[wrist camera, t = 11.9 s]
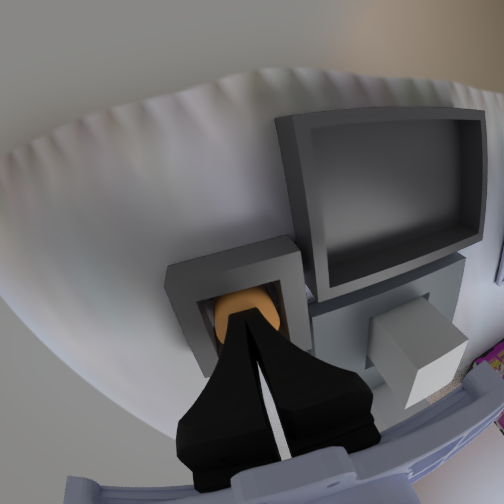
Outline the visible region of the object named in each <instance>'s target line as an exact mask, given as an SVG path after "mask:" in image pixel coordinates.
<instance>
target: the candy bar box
mask: <svg viewBox="0 0 504 504" xmlns="http://www.w3.org/2000/svg"><path fill="white" fill-rule="evenodd" d="M484 360H486V361H487V362H488V363H489V364H490V365H491V366H492V368H493V369H494V370H495V371H496V372H497V373H498V374H499V375H500V376H501V377H502V378H503V379H504V339H503V340H502V341H501V342H500V343H498V344H497V345H496V346H494V347H493V348H492V349H490V350H489V351H488V352H486V353H485V354H484V355H482V356H481V357H480V358H478V359H477V360H475V361H474V363H473V365H472V367H471V368H470V370H472V369H473V368H474V367H476V366H477V365H478V364H480V363H481V362H482V361H484ZM470 370H469V371H470ZM494 423H495V424H496V425H497V427H498V428H499V429H500V431H501V432H502V433H503V435H504V409H503V411H502V412H501V413H500V415H499V416H498V417H497V419H496V420H495V421H494Z"/></svg>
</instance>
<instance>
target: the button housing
mask: <svg viewBox="0 0 504 504" xmlns="http://www.w3.org/2000/svg"><path fill="white" fill-rule="evenodd" d="M272 281H274V286H275V291H276V297H277V302H278V307H279V312H280V319H279V320H280V325H279V329H278V331H279V332H280V333H281V334H282V335H283V336H284V337H286V338H287V339H288V340H289V341H291V342H292V343H293V344H295V345H296V346H297V347H299V348H300V349H302V350H303V351H307V350H310V349H312V343H311V333H310V323H309V314H308V305H307V297H306V289H305V281H304V273H303V265H302V258H301V251H300V249H299V248H298V247H297V246H296V245H295V244H294V242H293V241H292V240H291V239H290V238H289V236H288V235H284V236H280V237H276V238H272V239H269V240H265V241H261V242H257V243H253V244H249V245H246V246H242V247H238V248H234V249H230V250H227V251H223V252H219V253H215V254H211V255H208V256H204V257H200V258H196V259H193V260H189V261H185V262H181V263H178V264H174V265H170V266H168V268H167V273H166V279H165V285H164V288H165V290H166V293H167V295H168V298H169V300H170V302H171V305H172V307H173V310H174V312H175V314H176V317H177V319H178V321H179V323H180V326H181V328H182V330H183V332H184V335H185V337H186V339H187V341H188V343H189V346H190V348H191V350H192V352H193V354H194V356H195V358H196V360H197V363H198V365H199V367H200V369H201V371H202V373H203V375H204V377H205V378H207V377H211V375H212V373H213V371H214V369H215V366H216V364H217V362H218V359H219V356H220V353H221V350H222V347H223V344H222V343H221V342H220V340H219V339H218V337H217V336H216V335H215V332H214V330H213V327H212V324H211V322H210V319H209V316H208V313H207V311H206V308H205V305H204V302H203V300H205V299H209V298H212V297H216V296H220V295H224V294H228V293H232V292H235V291H239V290H243V289H247V288H250V287H254V286H258V285H261V284H265V283H268V282H272ZM257 364H258V362H257ZM258 365H259V364H258Z"/></svg>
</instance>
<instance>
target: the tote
mask: <svg viewBox="0 0 504 504" xmlns="http://www.w3.org/2000/svg"><path fill="white" fill-rule="evenodd" d="M274 119H275V124H276V129H277V134H278V139H279V144H280V149H281V154H282V160H283V165H284V171H285V176H286V182H287V188H288V194H289V200H290V206H291V212H292V218H293V225H294V231H295V238H296V244H297V247H298V248H299V249H300V251H301V258H302V265H303V273H304V281H305V284H306V285H307V287H308V288H309V290H310V291H311V292H312V294H313V295H314V297H315V298H316V300H317V301H318V303H319V302H322V301H325V300H329V299H332V298H335V297H338V296H341V295H344V294H347V293H350V292H353V291H355V290H358V289H361V288H364V287H367V286H370V285H373V284H375V283H378V282H381V281H384V280H386V279H389V278H392V277H394V276H397V275H400V274H402V273H405V272H408V271H410V270H413V269H415V268H418V267H420V266H423V265H425V264H428V263H430V262H433V261H435V260H438V259H440V258H442V257H445V256H447V255H449V254H452V253H454V252H456V251H459V250H461V249H463V248H466V247H468V246H470V245H472V244H475V243H477V242H479V241H481V240H482V238H483V231H484V222H485V212H486V198H487V173H488V158H487V132H486V120H485V111H483V110H473V109H461V108H446V107H372V108H355V109H342V110H331V111H322V112H313V113H305V114H297V115H290V116H284V117H278V118H274Z"/></svg>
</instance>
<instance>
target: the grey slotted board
mask: <svg viewBox="0 0 504 504" xmlns="http://www.w3.org/2000/svg"><path fill="white" fill-rule="evenodd" d="M465 260H466V257H464V256H462V255H461V254H459V253H458V252H454V253H452V254H449V255H447V256H445V257H442V258H440V259H438V260H435V261H433V262H430V263H428V264H425V265H423V266H420V267H418V268H415V269H413V270H410V271H408V272H405V273H402V274H400V275H397V276H394V277H392V278H389V279H386V280H384V281H381V282H378V283H375V284H373V285H370V286H367V287H364V288H361V289H358V290H355V291H353V292H350V293H347V294H344V295H341V296H338V297H335V298H332V299H329V300H325V301H322V302H319V303H318V302H315V303H311V304H308V314H309V323H310V333H311V343H312V349H310V355H312V356H314V357H316V358H318V359H320V360H322V361H324V362H326V363H329V364H331V365H334V366H336V367H339V368H343V369H346V370H349V371H353V372H356V373H357V374H358V375H359V376H360V377H361V378H362V379H363V380H364V381H365V382H366V384H367V385H368V386H369V387H370V389H372V388H374V387H376V386H379V385H381V384H383V383H385V382H386V381H385V380H384V378H383V377H382V375H381V374H380V372H379V371H378V370H377V368H376V367H375V365H374V364H373V362H372V361H371V359H370V358H369V357H368V355H367V356H366V353H367V341H368V328H369V318H370V317H372V316H375V315H377V314H380V313H382V312H385V311H387V310H390V309H392V308H394V307H397V306H399V305H401V304H404V303H406V302H408V301H411V300H413V299H415V298H417V297H420V296H422V297H423V298H425V299H426V300H427V301H428V302H429V303H430V304H431V305H433V306H434V307H435V308H436V309H437V310H438V311H439V312H440V313H441V314H442V315H444V316H445V317H446V318H447V319H448V320H449V321H450V322H451V323H452V320H453V317H454V313H455V309H456V305H457V301H458V296H459V292H460V287H461V282H462V277H463V272H464V266H465Z"/></svg>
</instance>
